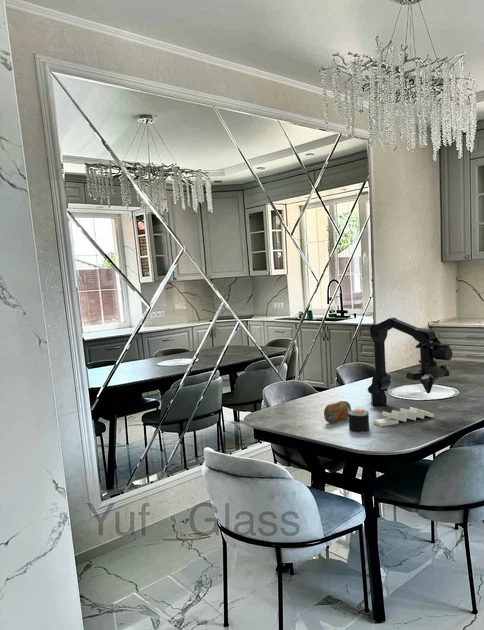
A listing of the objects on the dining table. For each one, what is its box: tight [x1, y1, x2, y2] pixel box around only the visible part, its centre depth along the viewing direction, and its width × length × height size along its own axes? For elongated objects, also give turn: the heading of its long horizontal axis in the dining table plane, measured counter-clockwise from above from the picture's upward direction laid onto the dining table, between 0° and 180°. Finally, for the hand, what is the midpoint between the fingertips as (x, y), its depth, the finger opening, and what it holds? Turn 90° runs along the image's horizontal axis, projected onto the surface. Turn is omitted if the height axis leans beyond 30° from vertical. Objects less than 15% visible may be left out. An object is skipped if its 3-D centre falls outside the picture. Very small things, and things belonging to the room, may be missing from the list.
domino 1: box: [373, 417, 400, 427], centre depth 205 cm, size 2×5×9 cm
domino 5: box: [408, 406, 435, 418], centre depth 210 cm, size 2×5×9 cm
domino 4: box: [399, 407, 425, 420], centre depth 209 cm, size 2×5×9 cm
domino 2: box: [381, 410, 408, 423], centre depth 206 cm, size 2×5×9 cm
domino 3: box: [391, 409, 417, 421], centre depth 208 cm, size 2×5×9 cm
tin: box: [323, 400, 352, 425], centre depth 213 cm, size 15×3×8 cm, turn 126°
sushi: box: [348, 408, 370, 433], centre depth 199 cm, size 8×8×8 cm
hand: (428, 393), depth 214 cm, fingers closed
